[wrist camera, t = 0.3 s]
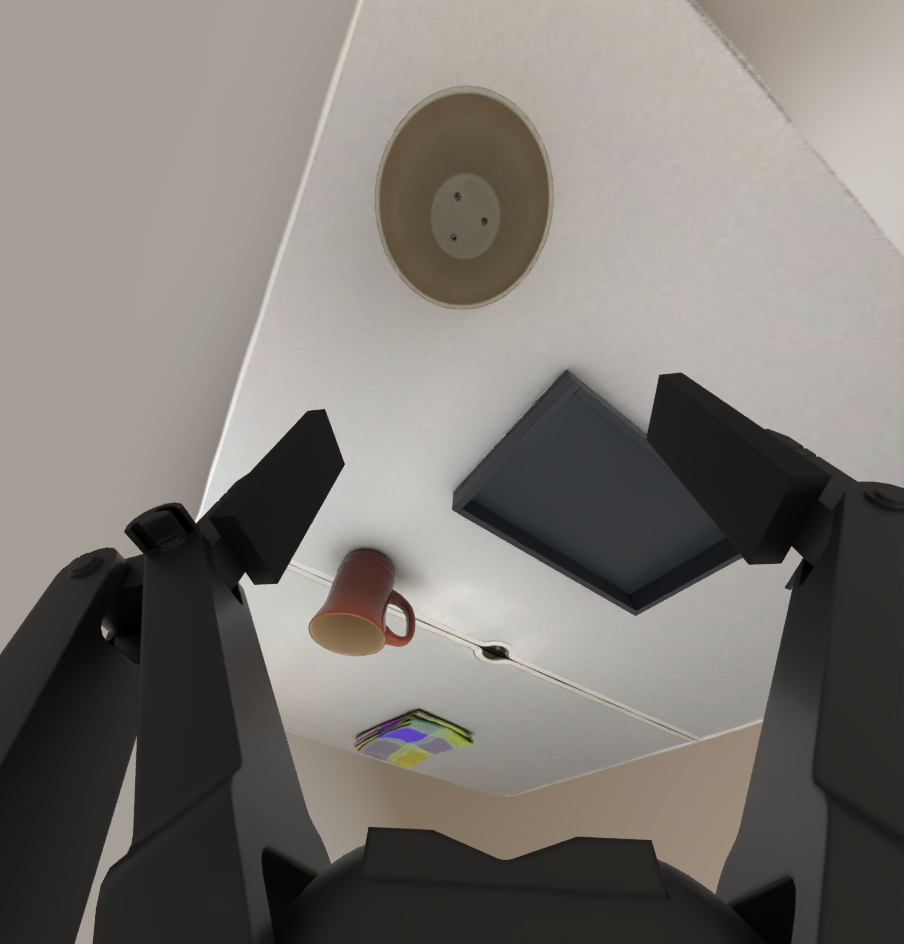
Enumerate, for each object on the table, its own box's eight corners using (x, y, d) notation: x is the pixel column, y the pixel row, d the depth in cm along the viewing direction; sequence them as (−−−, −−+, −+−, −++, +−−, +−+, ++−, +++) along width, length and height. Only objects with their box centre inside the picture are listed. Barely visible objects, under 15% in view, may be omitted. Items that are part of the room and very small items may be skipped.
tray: (453, 492, 40) (451, 509, 37) (566, 369, 31) (574, 381, 29) (627, 596, 49) (635, 616, 46) (753, 521, 40) (772, 541, 37)
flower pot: (532, 288, 28) (547, 303, 22) (409, 298, 29) (391, 315, 23) (539, 113, 22) (562, 70, 16) (386, 133, 23) (356, 99, 17)
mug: (331, 572, 49) (301, 643, 41) (347, 533, 45) (317, 603, 36) (410, 598, 52) (397, 670, 43) (433, 563, 47) (424, 636, 39)
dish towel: (477, 733, 78) (477, 749, 76) (410, 758, 89) (408, 772, 87) (416, 706, 72) (414, 722, 70) (352, 736, 83) (348, 750, 81)
